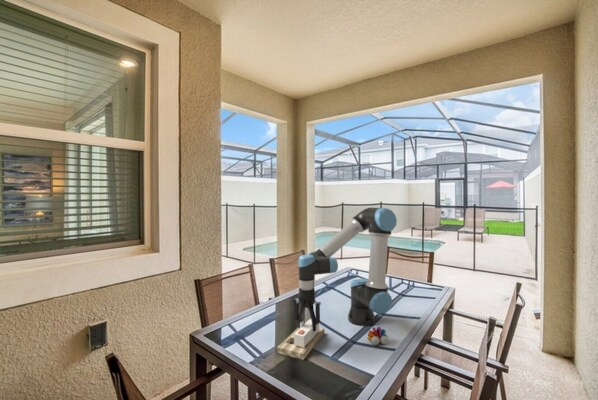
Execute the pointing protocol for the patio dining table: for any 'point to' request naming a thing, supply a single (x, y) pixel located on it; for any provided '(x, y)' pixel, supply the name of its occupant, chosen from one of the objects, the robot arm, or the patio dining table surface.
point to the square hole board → (297, 351)
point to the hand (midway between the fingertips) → (307, 336)
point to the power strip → (304, 334)
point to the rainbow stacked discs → (378, 336)
